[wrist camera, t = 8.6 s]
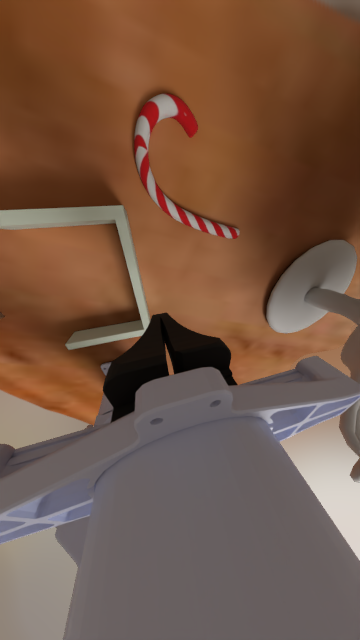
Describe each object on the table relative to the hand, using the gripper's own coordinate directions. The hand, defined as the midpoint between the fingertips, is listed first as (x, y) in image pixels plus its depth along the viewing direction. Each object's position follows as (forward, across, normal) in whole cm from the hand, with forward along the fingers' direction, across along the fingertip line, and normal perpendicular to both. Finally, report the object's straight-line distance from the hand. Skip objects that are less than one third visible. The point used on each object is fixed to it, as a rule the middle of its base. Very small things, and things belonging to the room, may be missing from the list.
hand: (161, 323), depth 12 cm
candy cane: (+10, -7, -11) cm, 17 cm away
